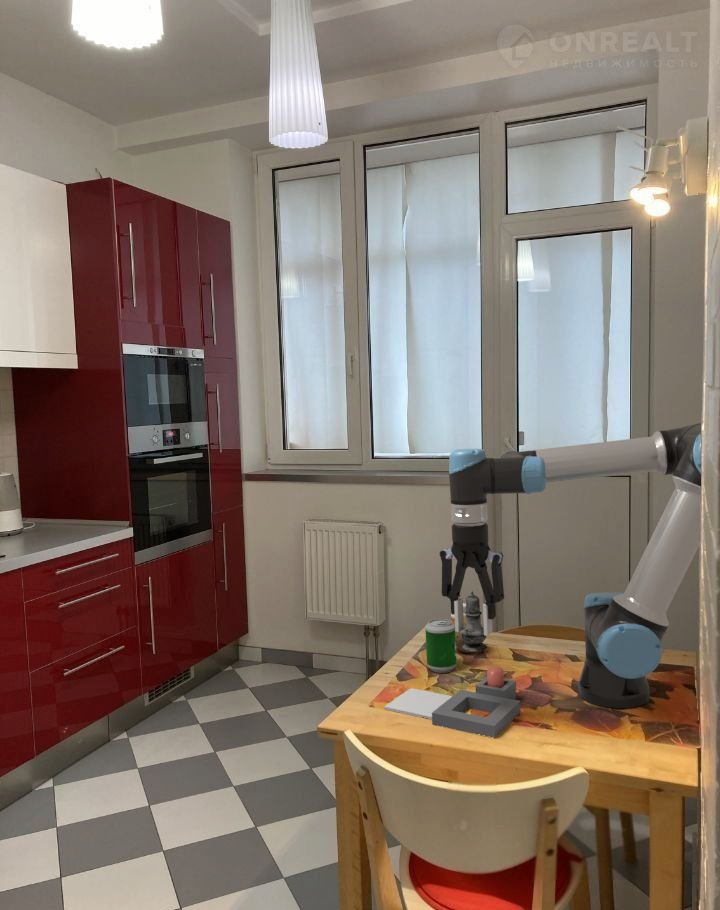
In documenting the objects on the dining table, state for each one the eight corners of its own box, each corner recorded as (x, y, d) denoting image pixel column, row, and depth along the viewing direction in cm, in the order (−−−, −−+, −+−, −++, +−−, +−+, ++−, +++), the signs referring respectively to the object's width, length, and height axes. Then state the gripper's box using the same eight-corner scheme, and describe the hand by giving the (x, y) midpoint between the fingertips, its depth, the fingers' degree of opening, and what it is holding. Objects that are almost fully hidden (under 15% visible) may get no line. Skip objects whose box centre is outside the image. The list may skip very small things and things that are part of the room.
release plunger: (506, 694, 167) (506, 668, 167) (500, 700, 164) (499, 673, 164) (491, 691, 169) (491, 666, 169) (485, 697, 166) (484, 671, 166)
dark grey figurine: (482, 653, 153) (479, 596, 152) (455, 649, 156) (453, 593, 155) (492, 644, 158) (490, 589, 157) (467, 641, 161) (465, 586, 160)
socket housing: (531, 700, 166) (531, 683, 166) (494, 738, 148) (493, 718, 148) (474, 689, 173) (473, 673, 173) (432, 724, 156) (431, 705, 156)
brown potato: (442, 653, 199) (440, 617, 199) (460, 644, 206) (458, 609, 206) (471, 659, 194) (469, 622, 193) (488, 650, 200) (487, 613, 200)
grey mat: (457, 699, 168) (457, 697, 168) (432, 719, 158) (432, 717, 158) (410, 690, 175) (410, 688, 175) (384, 709, 165) (384, 706, 165)
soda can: (455, 674, 184) (453, 626, 183) (425, 673, 185) (423, 626, 184) (457, 663, 191) (456, 618, 190) (428, 663, 193) (426, 617, 192)
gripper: (421, 523, 157) (425, 631, 159) (505, 528, 147) (509, 643, 148) (437, 518, 164) (441, 621, 165) (519, 522, 153) (523, 632, 155)
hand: (473, 631), depth 157 cm, fingers closed on dark grey figurine, 6 cm apart
